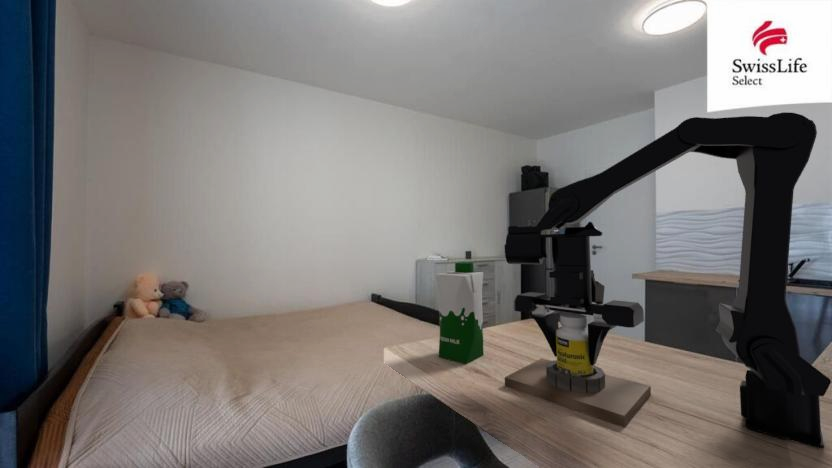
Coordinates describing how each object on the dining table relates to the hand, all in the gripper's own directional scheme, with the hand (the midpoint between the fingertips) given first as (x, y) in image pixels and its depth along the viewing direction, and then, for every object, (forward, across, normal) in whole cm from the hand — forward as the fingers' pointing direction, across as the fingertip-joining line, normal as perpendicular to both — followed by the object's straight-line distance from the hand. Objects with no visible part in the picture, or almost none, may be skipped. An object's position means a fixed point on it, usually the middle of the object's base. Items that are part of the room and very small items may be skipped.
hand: (574, 360), depth 55 cm
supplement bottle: (+3, 0, 0) cm, 3 cm away
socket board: (+5, 0, 0) cm, 5 cm away
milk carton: (+5, +24, 0) cm, 25 cm away
